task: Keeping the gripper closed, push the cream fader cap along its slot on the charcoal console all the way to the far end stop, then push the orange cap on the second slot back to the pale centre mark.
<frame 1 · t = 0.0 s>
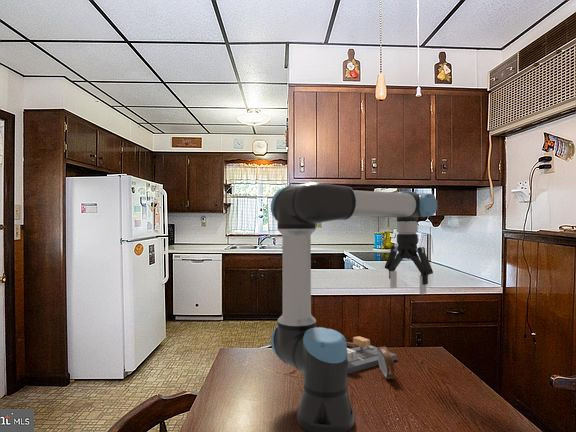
hand: (407, 290, 140), 28 cm above the table, fingers open, 13 cm apart
console: (354, 361, 144), on the table
tin: (385, 374, 133), on the table
fader cream: (346, 356, 138), point 5 cm above the table, slide at -7.0 cm
fader orange: (361, 344, 151), point 5 cm above the table, slide at 7.0 cm
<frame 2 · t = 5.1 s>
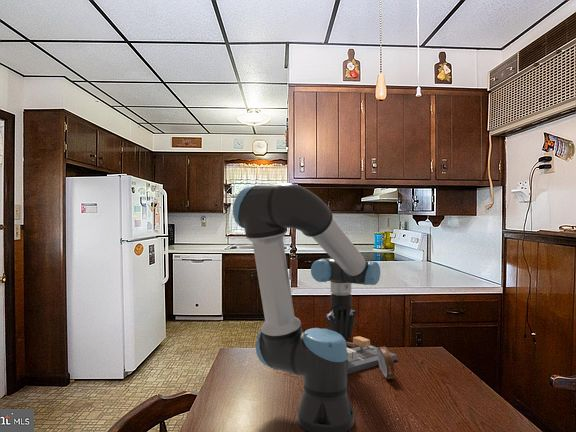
hand: (341, 358, 137), 4 cm above the table, fingers closed
fader cream: (346, 355, 138), point 5 cm above the table, slide at -6.8 cm, touching gripper
everything else where it was.
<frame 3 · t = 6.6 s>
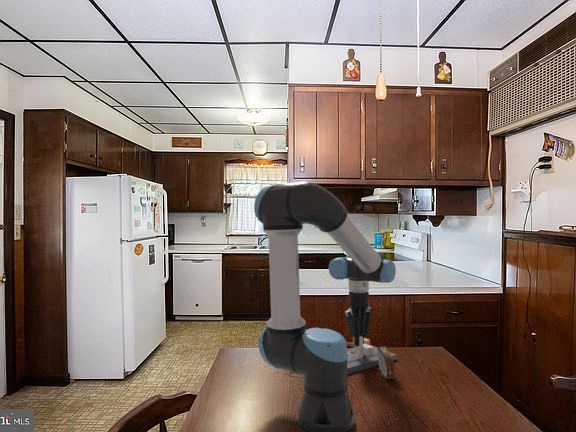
hand: (359, 353, 141), 4 cm above the table, fingers closed
fader cream: (364, 351, 143), point 5 cm above the table, slide at 1.8 cm, touching gripper
everything else where it was.
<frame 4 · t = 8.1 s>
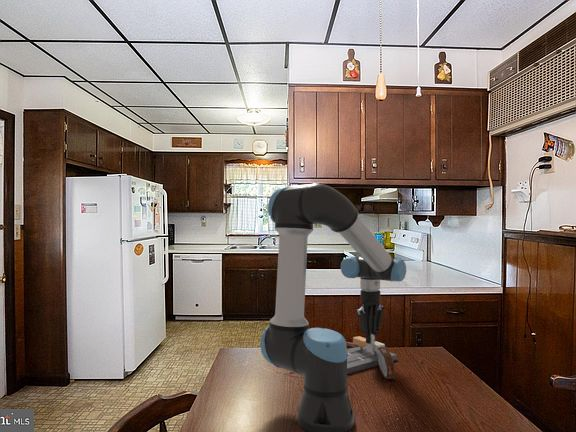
hand: (370, 351, 144), 4 cm above the table, fingers closed
fader cream: (375, 348, 146), point 5 cm above the table, slide at 7.8 cm, touching gripper
everything else where it was.
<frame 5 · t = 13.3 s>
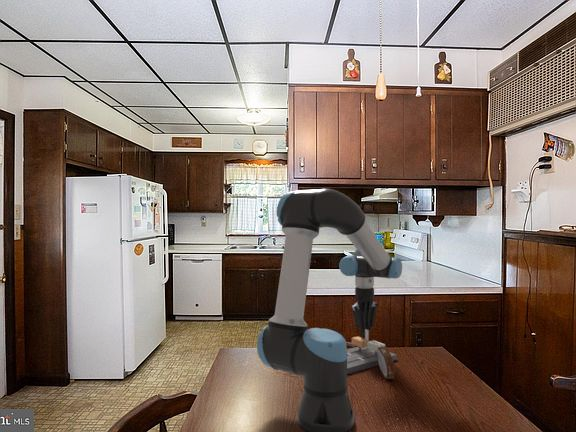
hand: (364, 345, 152), 4 cm above the table, fingers closed
fader cream: (376, 348, 146), point 5 cm above the table, slide at 8.0 cm
fader orange: (360, 344, 151), point 5 cm above the table, slide at 6.3 cm, touching gripper
everything else where it was.
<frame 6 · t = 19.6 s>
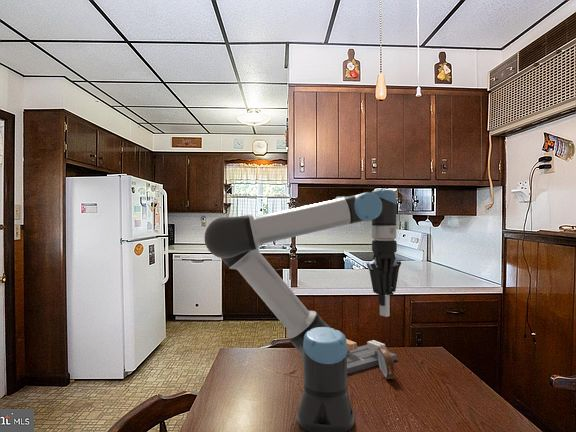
hand: (384, 315, 117), 24 cm above the table, fingers closed
fader orange: (348, 347, 148), point 5 cm above the table, slide at 0.0 cm
everything else where it was.
at the end: fader cream slide at 8.0 cm; fader orange slide at 0.0 cm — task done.
